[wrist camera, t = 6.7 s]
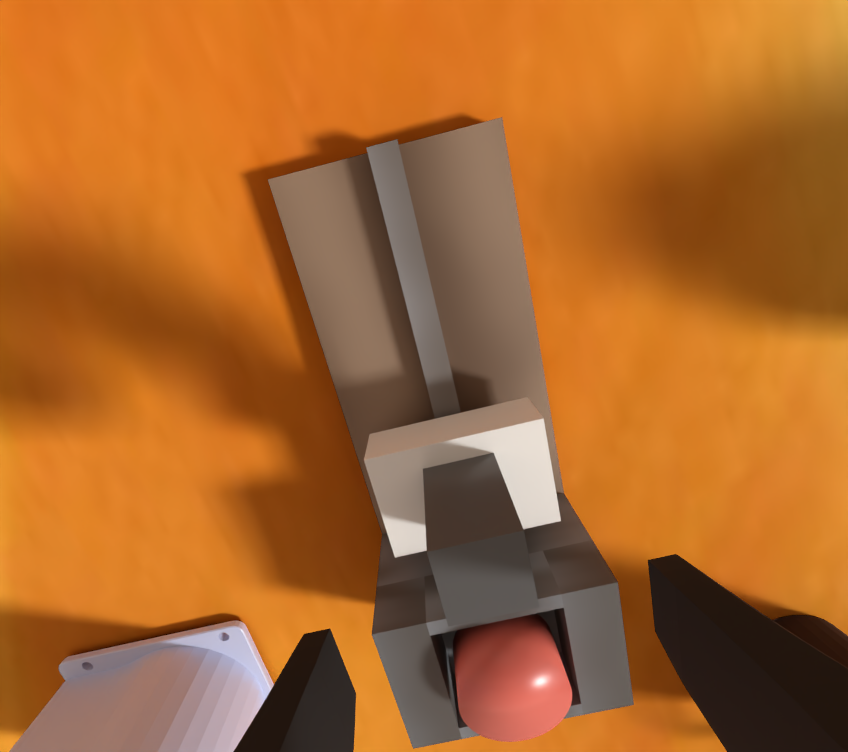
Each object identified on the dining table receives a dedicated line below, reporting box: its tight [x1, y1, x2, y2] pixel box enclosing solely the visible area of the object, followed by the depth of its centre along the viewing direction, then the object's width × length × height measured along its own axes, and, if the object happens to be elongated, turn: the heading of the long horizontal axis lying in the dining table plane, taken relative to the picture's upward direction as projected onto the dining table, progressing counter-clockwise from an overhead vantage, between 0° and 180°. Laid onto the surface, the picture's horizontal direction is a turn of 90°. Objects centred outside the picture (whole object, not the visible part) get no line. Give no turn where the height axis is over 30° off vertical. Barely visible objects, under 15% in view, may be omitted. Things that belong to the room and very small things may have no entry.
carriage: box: [364, 397, 561, 627], centre depth 14 cm, size 6×4×6 cm, turn 104°
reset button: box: [453, 613, 572, 742], centre depth 14 cm, size 4×4×2 cm
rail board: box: [268, 118, 634, 749], centre depth 15 cm, size 8×20×6 cm, turn 14°
